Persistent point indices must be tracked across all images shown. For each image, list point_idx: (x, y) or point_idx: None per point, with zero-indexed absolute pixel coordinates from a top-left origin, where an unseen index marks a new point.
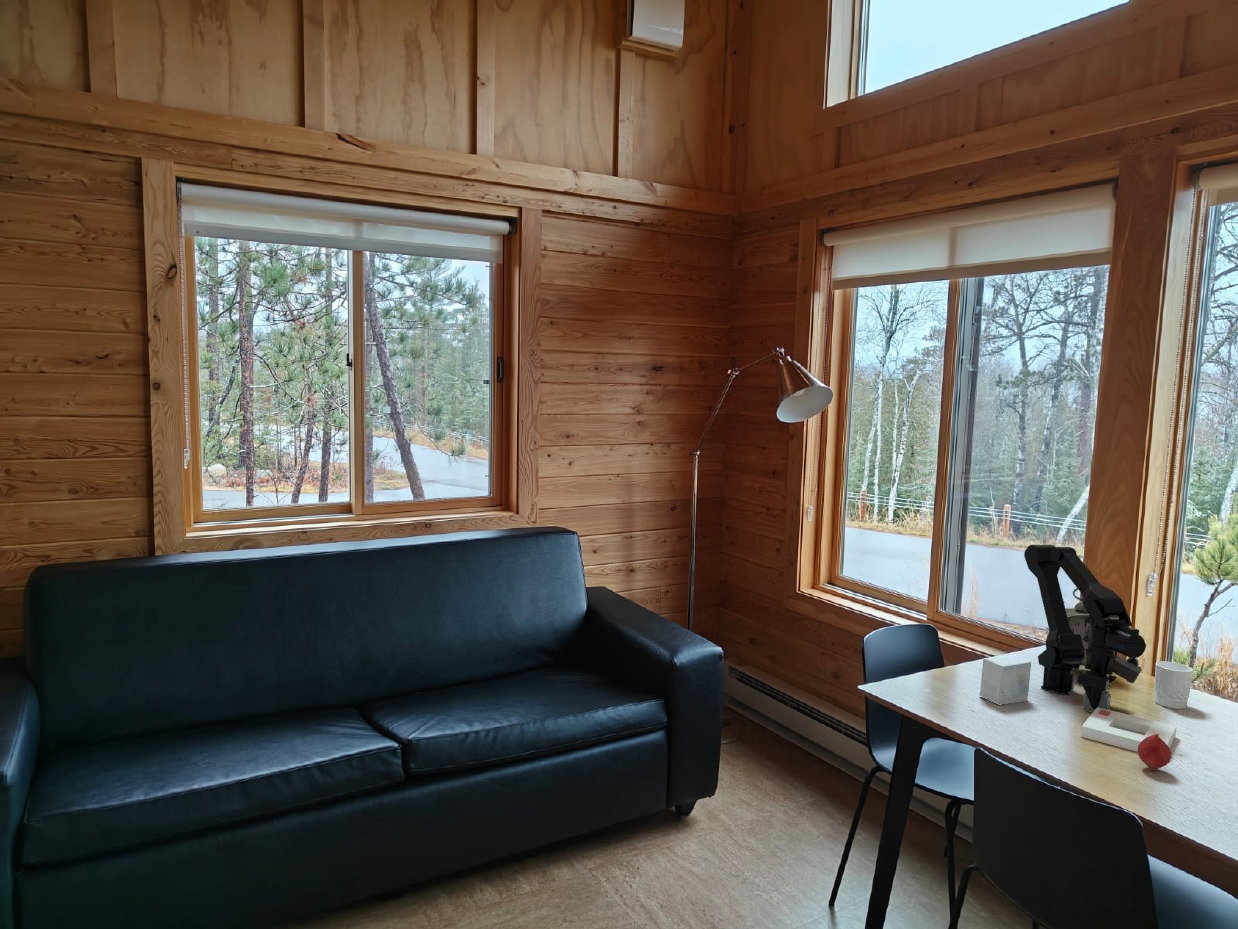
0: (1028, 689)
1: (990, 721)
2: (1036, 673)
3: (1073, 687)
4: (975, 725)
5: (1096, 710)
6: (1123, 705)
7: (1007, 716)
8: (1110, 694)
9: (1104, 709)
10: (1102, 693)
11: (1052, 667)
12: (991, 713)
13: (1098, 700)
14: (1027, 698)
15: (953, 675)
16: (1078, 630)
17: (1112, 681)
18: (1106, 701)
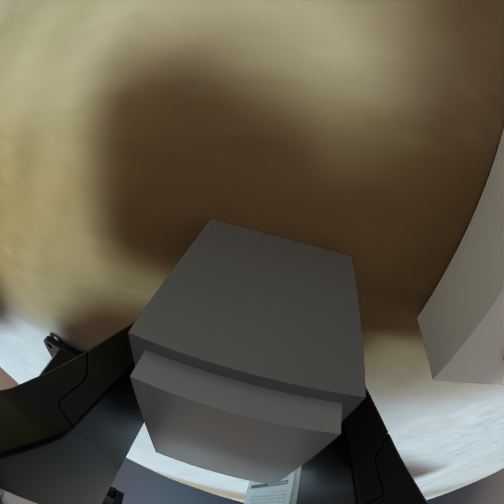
0: (294, 498)
1: (475, 467)
2: (36, 374)
3: (62, 360)
4: (490, 467)
5: (497, 378)
6: (37, 135)
7: (448, 466)
8: (157, 347)
9: (479, 342)
10: (286, 449)
11: (116, 501)
12: (432, 477)
13: (376, 414)
14: (299, 470)
15: (209, 487)
16: None
17: (1, 454)
18: (360, 364)
